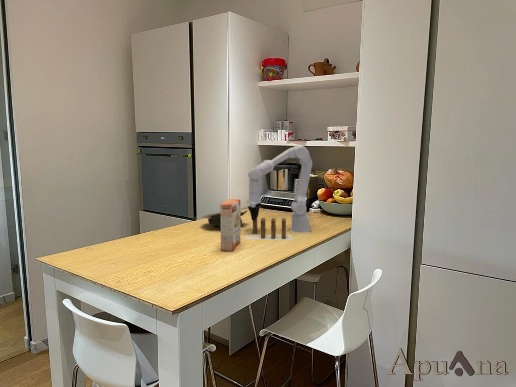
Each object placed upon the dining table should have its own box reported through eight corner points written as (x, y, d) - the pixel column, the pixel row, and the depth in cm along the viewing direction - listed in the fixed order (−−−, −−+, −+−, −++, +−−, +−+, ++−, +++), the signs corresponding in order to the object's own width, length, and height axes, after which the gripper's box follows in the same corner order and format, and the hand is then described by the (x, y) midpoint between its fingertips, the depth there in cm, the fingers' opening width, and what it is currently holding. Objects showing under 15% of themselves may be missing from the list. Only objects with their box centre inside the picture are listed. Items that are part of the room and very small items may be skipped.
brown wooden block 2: (265, 236, 193) (265, 218, 191) (264, 238, 188) (264, 220, 186) (261, 235, 193) (261, 218, 192) (260, 238, 188) (260, 220, 187)
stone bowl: (243, 232, 202) (241, 214, 201) (197, 234, 207) (195, 217, 205) (251, 220, 226) (250, 205, 225) (209, 223, 231) (208, 207, 229)
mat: (292, 236, 193) (292, 235, 193) (291, 241, 185) (291, 240, 184) (246, 235, 196) (246, 234, 196) (243, 240, 187) (243, 239, 187)
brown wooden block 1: (257, 232, 203) (257, 215, 202) (256, 234, 198) (256, 217, 197) (254, 232, 203) (253, 214, 202) (252, 234, 198) (252, 217, 197)
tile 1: (285, 236, 192) (285, 218, 190) (285, 239, 187) (285, 220, 185) (282, 236, 192) (282, 218, 190) (281, 238, 187) (281, 220, 186)
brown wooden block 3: (275, 236, 192) (275, 218, 191) (275, 238, 187) (274, 220, 186) (271, 236, 192) (271, 218, 191) (271, 238, 187) (271, 220, 186)
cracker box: (233, 251, 170) (232, 204, 166) (220, 251, 171) (219, 203, 168) (241, 243, 183) (240, 198, 180) (229, 242, 184) (228, 198, 181)
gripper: (248, 190, 205) (248, 215, 207) (244, 194, 191) (245, 221, 193) (262, 190, 204) (262, 215, 206) (259, 194, 190) (259, 221, 192)
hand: (254, 218), depth 200 cm, fingers open, 7 cm apart
